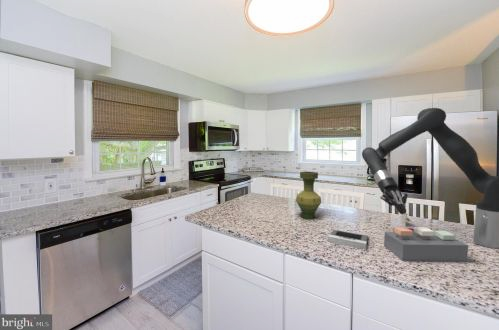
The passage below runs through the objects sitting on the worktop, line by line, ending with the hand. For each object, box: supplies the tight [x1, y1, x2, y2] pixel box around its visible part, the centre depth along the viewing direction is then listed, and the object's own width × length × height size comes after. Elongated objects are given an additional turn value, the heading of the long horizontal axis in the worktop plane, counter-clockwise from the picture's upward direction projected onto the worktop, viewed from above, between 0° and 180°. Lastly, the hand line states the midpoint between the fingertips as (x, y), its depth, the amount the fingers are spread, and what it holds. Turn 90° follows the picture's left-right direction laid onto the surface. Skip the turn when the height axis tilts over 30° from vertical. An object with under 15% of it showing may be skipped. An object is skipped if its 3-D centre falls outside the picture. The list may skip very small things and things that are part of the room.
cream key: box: [414, 226, 435, 240], centre depth 101 cm, size 5×5×6 cm
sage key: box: [434, 230, 456, 240], centre depth 101 cm, size 5×5×6 cm
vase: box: [295, 171, 322, 221], centre depth 151 cm, size 16×16×30 cm
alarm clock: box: [327, 228, 369, 250], centre depth 117 cm, size 17×5×16 cm
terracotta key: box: [393, 226, 413, 240], centre depth 101 cm, size 5×5×6 cm
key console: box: [383, 231, 469, 263], centre depth 101 cm, size 26×14×7 cm, turn 88°
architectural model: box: [400, 213, 414, 227], centre depth 136 cm, size 3×7×7 cm, turn 168°
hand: (403, 213), depth 100 cm, fingers closed
